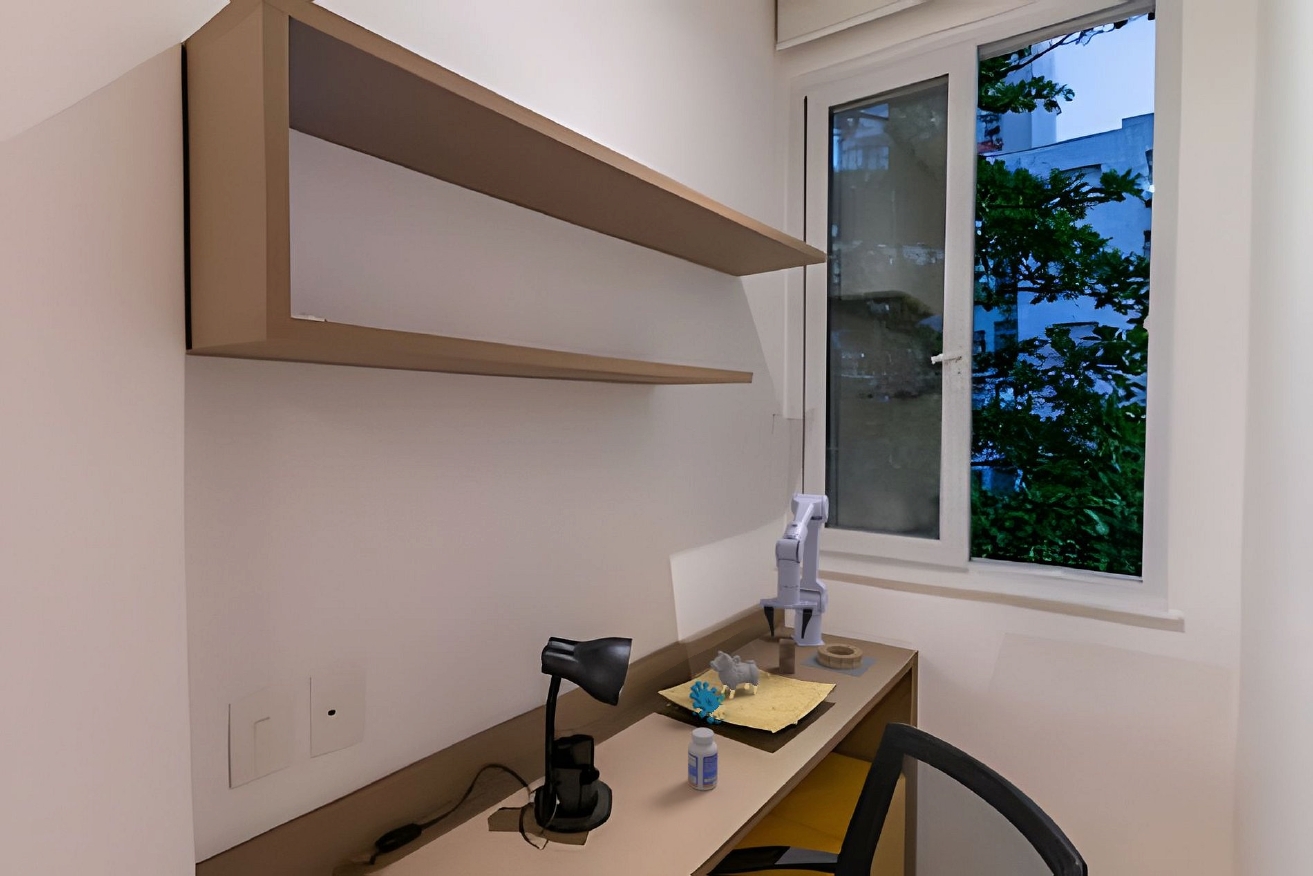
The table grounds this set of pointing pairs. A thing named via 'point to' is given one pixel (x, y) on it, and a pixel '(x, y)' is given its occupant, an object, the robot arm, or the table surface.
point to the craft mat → (855, 672)
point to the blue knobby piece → (705, 700)
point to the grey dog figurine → (735, 670)
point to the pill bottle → (702, 760)
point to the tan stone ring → (840, 656)
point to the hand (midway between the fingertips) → (787, 636)
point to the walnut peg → (787, 656)
